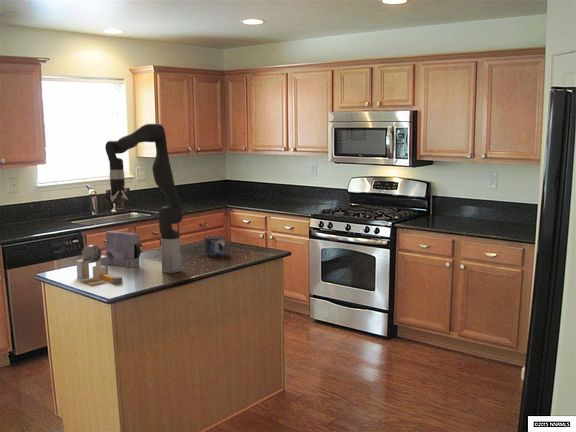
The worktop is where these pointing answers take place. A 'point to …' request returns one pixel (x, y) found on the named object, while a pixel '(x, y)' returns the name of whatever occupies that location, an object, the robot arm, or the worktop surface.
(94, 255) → the housing
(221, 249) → the small box
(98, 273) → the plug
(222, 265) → the worktop surface
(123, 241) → the cake pan box
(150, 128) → the robot arm
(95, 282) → the trivet
